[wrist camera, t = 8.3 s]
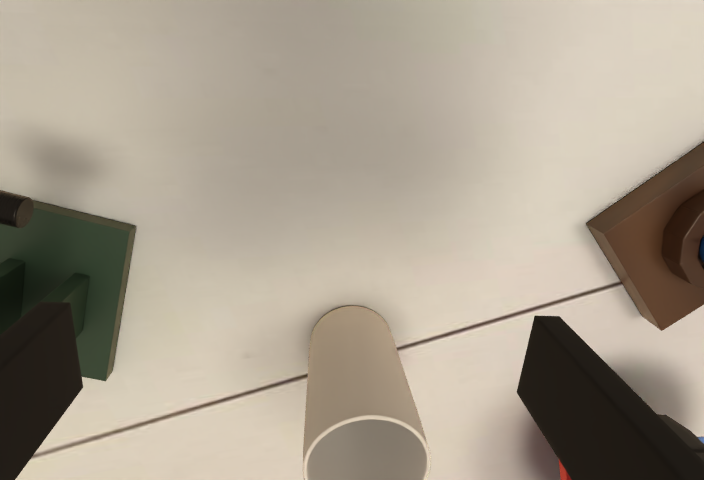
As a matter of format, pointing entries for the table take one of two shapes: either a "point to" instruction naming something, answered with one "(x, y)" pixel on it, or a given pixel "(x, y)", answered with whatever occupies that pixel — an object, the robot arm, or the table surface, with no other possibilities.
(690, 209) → the button block
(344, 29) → the table surface
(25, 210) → the lever
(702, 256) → the button
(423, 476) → the mug
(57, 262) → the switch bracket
